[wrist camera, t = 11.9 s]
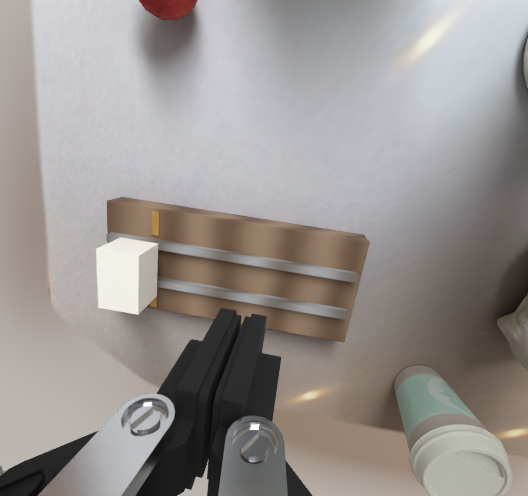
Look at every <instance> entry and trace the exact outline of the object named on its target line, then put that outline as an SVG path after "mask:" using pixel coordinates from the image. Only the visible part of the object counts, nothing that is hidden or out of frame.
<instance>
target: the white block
mask: <svg viewBox="0 0 528 496" xmlns="http://www.w3.org/2000/svg"><path fill="white" fill-rule="evenodd" d="M96 258H97V285H98V308H103V309H109V310H114V311H120V312H125V313H131V314H136V315H139V314H140V313H141V312H142V311H143V310H144V309H145V308H146V307H147V306H148V305H149V304H150V302H151V301H152V300H153V299H154V298H155V297H156V296H157V271H158V243H152V242H146V241H140V240H134V239H128V238H122V237H120V238H118V239H116V240H114V241H112V242H110V243H108V244H105V245H103V246H101V247H99V248H97V249H96Z"/></svg>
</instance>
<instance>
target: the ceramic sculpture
mask: <svg viewBox="0 0 528 496" xmlns="http://www.w3.org/2000/svg"><path fill="white" fill-rule="evenodd" d="M497 325H498V327H499V328H500V330H501V331H502V332H503V334H504V335H505V337H506V339H507V341H508V343H509V345H510V348H511V351H512V353H513V355H514V356H515V357H516V358H517V359H518V360H519V362H520V363H521V364H522V365H523V366H524V367H525V368H526V369H527V370H528V294H527V295H526V297H525V298H524V300H523V301H522V302H521V304H520V305H519V307H518V308H517V310H516V311H515V312H513V313H511V314H509V315H506V316H502V317H500V318H499V319H498V320H497Z"/></svg>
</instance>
